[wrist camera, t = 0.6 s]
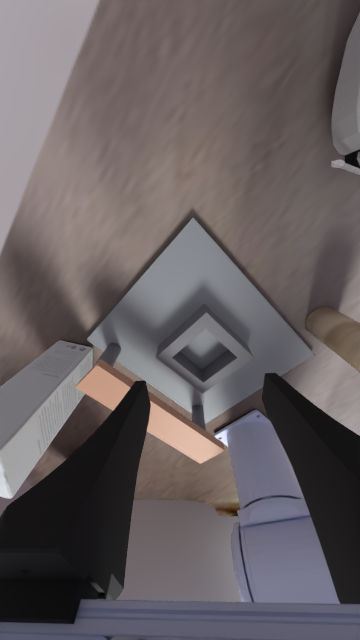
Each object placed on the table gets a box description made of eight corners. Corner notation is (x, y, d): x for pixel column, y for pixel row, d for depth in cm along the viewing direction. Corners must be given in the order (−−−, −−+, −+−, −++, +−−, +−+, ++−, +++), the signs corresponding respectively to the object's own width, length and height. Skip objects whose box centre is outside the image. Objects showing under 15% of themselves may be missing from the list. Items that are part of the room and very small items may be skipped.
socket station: (311, 351, 22) (358, 396, 16) (205, 419, 28) (210, 471, 22) (192, 217, 16) (197, 210, 10) (88, 337, 22) (52, 376, 16)
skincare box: (58, 338, 22) (-74, 439, 11) (94, 346, 22) (-4, 454, 11) (61, 377, 25) (-44, 489, 14) (93, 384, 25) (13, 501, 14)
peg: (341, 320, 20) (412, 360, 14) (314, 338, 21) (369, 383, 15) (327, 300, 19) (396, 334, 13) (299, 320, 20) (350, 360, 14)
